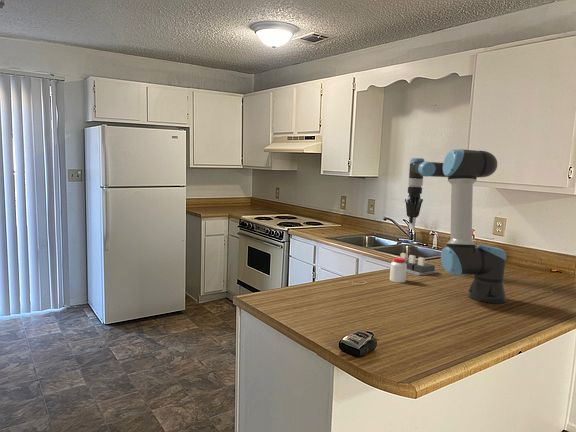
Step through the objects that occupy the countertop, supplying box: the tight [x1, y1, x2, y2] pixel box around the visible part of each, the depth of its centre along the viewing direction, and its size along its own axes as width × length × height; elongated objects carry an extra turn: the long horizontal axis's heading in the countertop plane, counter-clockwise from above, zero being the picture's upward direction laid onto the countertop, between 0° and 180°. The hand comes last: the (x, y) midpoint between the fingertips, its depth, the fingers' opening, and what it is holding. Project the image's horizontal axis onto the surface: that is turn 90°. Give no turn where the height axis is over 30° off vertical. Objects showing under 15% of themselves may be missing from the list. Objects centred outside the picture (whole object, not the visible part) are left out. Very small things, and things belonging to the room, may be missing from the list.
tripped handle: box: [399, 252, 408, 261], centre depth 242 cm, size 3×2×4 cm, turn 35°
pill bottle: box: [389, 257, 407, 284], centre depth 215 cm, size 8×8×11 cm
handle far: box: [417, 256, 426, 266], centre depth 232 cm, size 3×2×4 cm, turn 36°
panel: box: [405, 258, 439, 277], centre depth 239 cm, size 18×16×4 cm
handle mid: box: [408, 254, 417, 264], centre depth 237 cm, size 3×2×4 cm, turn 36°
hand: (411, 228), depth 243 cm, fingers closed
